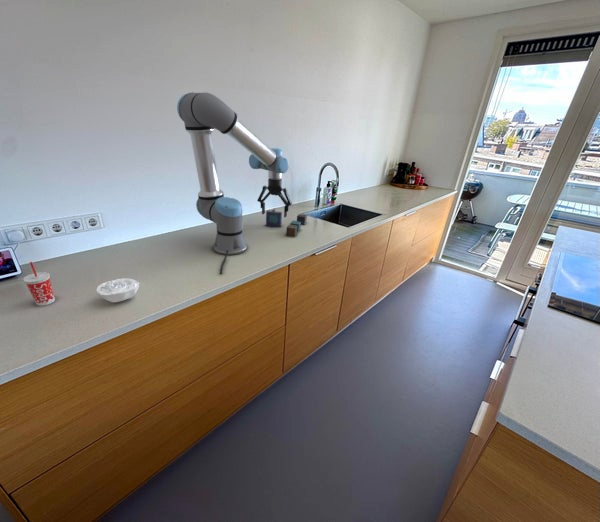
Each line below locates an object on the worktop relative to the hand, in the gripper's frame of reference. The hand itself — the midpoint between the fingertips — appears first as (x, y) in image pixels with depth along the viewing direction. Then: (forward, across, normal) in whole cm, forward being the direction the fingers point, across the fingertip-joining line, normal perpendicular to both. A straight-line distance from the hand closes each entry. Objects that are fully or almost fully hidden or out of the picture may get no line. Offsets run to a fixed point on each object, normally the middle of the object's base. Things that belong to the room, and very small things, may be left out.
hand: (274, 215), depth 168 cm
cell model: (+6, +22, +91) cm, 94 cm away
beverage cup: (+5, +42, +100) cm, 109 cm away
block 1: (+7, -14, +3) cm, 16 cm away
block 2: (+7, -14, +10) cm, 18 cm away
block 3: (+7, -14, -12) cm, 20 cm away
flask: (+7, 0, 0) cm, 7 cm away
